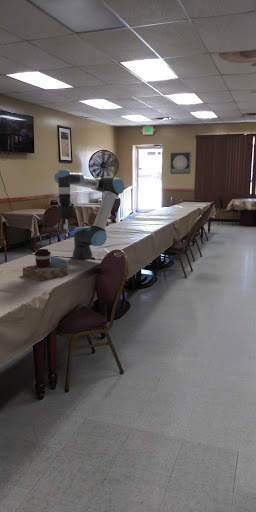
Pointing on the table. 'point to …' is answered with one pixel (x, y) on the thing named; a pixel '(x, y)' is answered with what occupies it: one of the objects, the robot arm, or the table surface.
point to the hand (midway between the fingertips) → (65, 228)
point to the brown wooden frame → (43, 273)
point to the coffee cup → (42, 260)
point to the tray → (58, 263)
